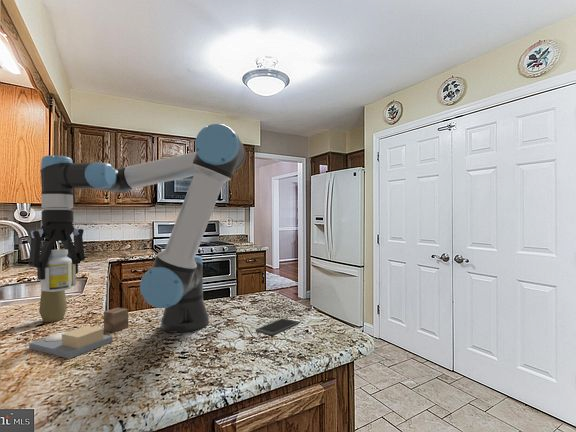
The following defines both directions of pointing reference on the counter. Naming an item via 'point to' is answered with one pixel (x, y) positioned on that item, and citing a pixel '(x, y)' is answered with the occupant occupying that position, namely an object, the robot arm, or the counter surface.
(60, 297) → the squeeze bottle
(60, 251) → the pill bottle
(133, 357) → the counter surface
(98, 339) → the board
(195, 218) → the robot arm
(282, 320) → the cell phone
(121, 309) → the walnut block
